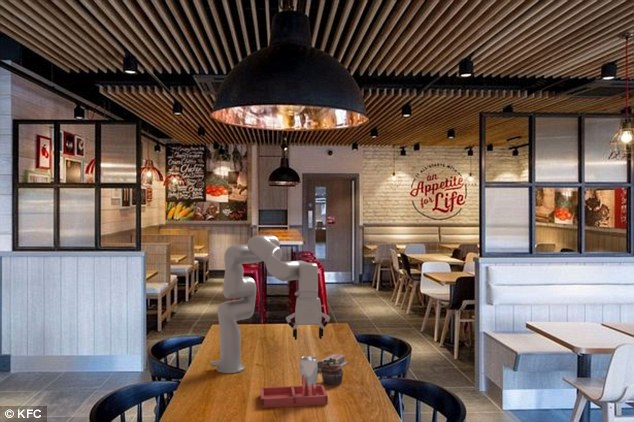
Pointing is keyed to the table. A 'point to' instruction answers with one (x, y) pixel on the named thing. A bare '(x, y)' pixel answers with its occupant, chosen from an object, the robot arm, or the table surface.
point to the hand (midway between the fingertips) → (308, 338)
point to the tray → (291, 396)
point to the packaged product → (336, 356)
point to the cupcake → (331, 372)
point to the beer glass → (308, 375)
